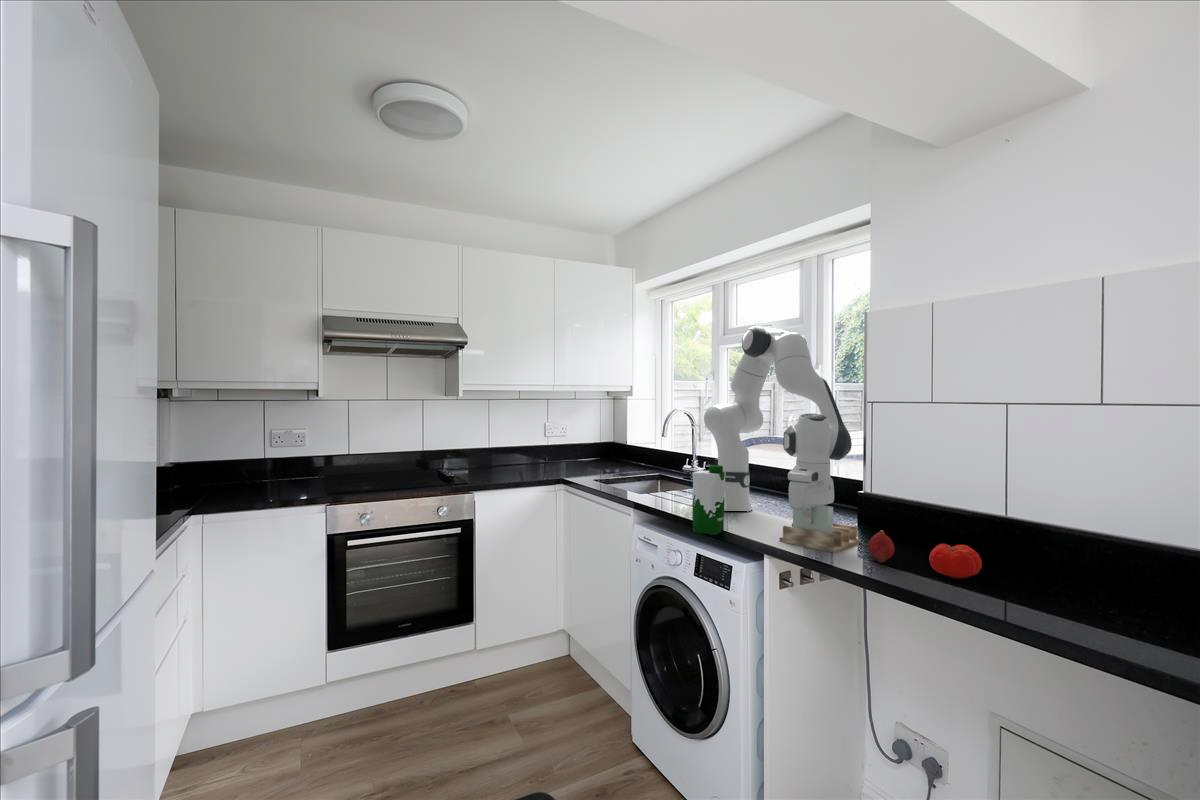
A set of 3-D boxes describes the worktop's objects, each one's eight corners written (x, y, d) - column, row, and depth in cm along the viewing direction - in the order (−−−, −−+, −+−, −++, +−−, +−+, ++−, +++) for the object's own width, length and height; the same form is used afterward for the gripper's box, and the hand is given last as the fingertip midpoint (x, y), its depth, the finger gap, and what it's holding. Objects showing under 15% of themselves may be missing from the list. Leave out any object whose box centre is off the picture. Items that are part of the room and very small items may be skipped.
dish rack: (779, 541, 153) (779, 525, 153) (805, 532, 164) (805, 518, 164) (836, 552, 141) (836, 535, 142) (860, 543, 152) (860, 527, 152)
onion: (862, 560, 135) (862, 528, 135) (879, 558, 137) (880, 526, 137) (882, 566, 130) (882, 533, 130) (899, 564, 132) (900, 531, 132)
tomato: (925, 575, 124) (925, 546, 124) (935, 565, 132) (935, 538, 132) (977, 585, 117) (977, 555, 117) (984, 574, 125) (984, 546, 126)
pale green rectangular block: (792, 531, 152) (793, 502, 152) (797, 530, 154) (798, 501, 154) (828, 538, 145) (828, 508, 145) (832, 536, 147) (833, 506, 147)
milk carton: (717, 536, 157) (718, 467, 158) (688, 532, 162) (689, 465, 162) (727, 530, 165) (728, 465, 165) (699, 527, 170) (700, 463, 170)
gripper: (818, 468, 159) (818, 516, 159) (784, 474, 145) (783, 525, 145) (840, 471, 154) (839, 519, 154) (807, 476, 140) (806, 529, 140)
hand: (812, 522), depth 149 cm, fingers closed on pale green rectangular block, 3 cm apart
